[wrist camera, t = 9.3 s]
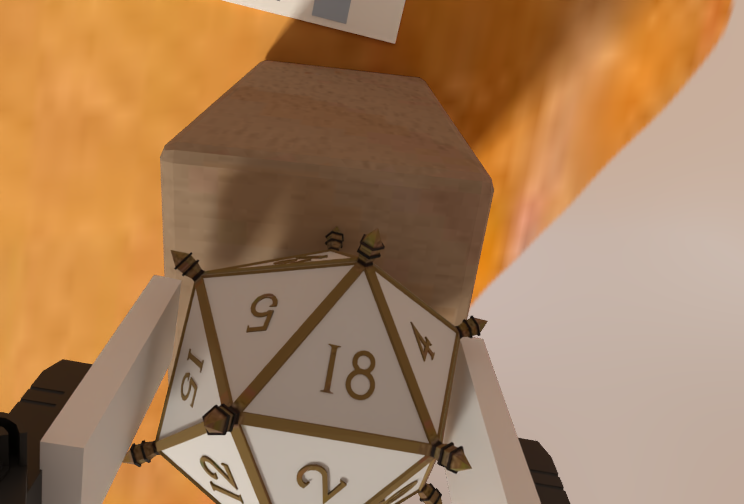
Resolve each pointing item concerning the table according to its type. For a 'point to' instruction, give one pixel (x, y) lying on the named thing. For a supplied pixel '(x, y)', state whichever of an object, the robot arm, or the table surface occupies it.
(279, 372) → the game die
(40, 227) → the table surface
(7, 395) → the table surface
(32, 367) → the table surface
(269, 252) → the wooden block
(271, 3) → the page
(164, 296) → the robot arm
